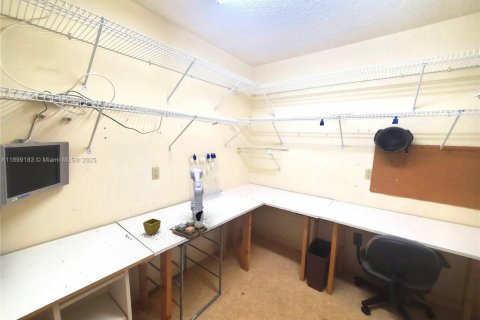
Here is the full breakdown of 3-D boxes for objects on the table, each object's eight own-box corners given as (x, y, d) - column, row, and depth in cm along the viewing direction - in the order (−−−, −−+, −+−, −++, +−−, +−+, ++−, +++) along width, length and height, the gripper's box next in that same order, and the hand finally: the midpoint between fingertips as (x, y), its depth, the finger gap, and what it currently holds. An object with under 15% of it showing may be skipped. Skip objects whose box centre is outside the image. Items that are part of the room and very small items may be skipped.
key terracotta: (189, 229, 144) (189, 226, 144) (194, 230, 142) (194, 227, 142) (185, 231, 141) (185, 228, 140) (190, 233, 138) (190, 230, 138)
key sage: (190, 222, 156) (190, 219, 156) (194, 223, 154) (194, 220, 154) (186, 224, 152) (186, 221, 152) (190, 225, 150) (190, 222, 150)
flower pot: (142, 234, 142) (142, 222, 141) (152, 229, 149) (152, 217, 148) (151, 237, 138) (151, 224, 137) (161, 232, 146) (161, 220, 145)
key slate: (182, 226, 148) (181, 223, 148) (186, 228, 146) (186, 225, 146) (177, 229, 144) (177, 225, 144) (181, 230, 142) (181, 227, 142)
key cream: (198, 224, 152) (198, 221, 152) (202, 226, 150) (202, 223, 150) (194, 227, 148) (194, 224, 148) (198, 228, 146) (198, 225, 146)
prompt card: (181, 223, 160) (181, 223, 160) (184, 224, 158) (184, 224, 158) (169, 229, 150) (169, 228, 150) (173, 230, 148) (173, 230, 148)
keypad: (189, 224, 160) (189, 220, 159) (207, 229, 151) (207, 225, 151) (172, 233, 144) (172, 228, 144) (190, 240, 135) (190, 235, 135)
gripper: (197, 199, 155) (197, 216, 157) (189, 205, 141) (189, 224, 143) (206, 200, 154) (206, 217, 155) (198, 206, 140) (198, 225, 141)
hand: (198, 220), depth 149 cm, fingers closed
